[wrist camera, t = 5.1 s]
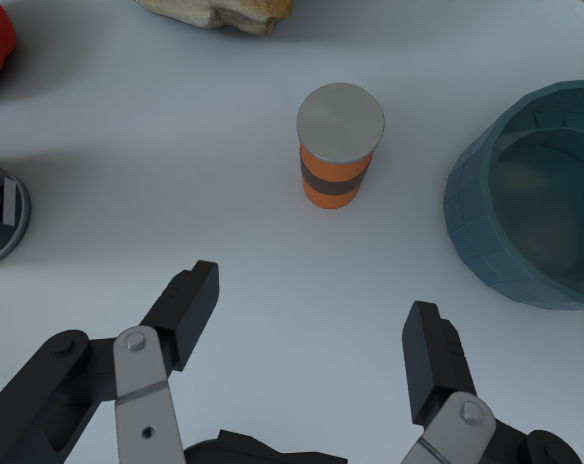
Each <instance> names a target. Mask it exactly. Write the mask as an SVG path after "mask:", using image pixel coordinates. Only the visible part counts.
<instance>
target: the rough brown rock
mask: <svg viewBox="0 0 584 464" xmlns="http://www.w3.org/2000/svg"><path fill="white" fill-rule="evenodd" d="M135 1H136V2H137V3H138V4H139V5H141V6H142V7H143V8H146V9H148V10H150V11H151V12H153V13H155V14H159V15H163V16H169V17H172V18H174V19H176V20H179V21H181V22H183V23H188V24H190V25H193V26H197V27H200V28H205V29H210V28H212V27H220V26H222V25H223V24H229V25H233V26H235V27H236V28H238V29H239V30H241V31H243V32H246V33H248V34H252V35H256V36H260V37H263V36H266V35H268V34H271V32H272V30H273V27H274V24H275V21H276V19H283V20H287V18H288V17H289V16H290V15H291V7H292V2H293V0H135Z"/></svg>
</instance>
